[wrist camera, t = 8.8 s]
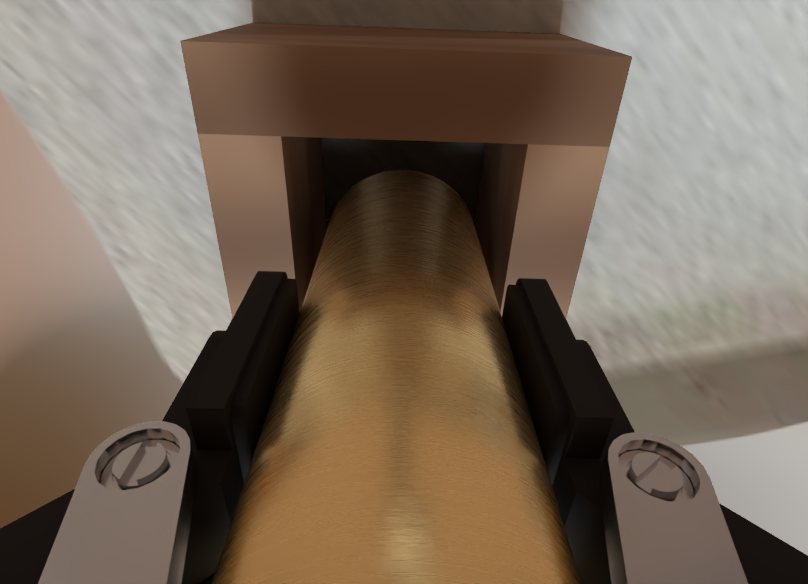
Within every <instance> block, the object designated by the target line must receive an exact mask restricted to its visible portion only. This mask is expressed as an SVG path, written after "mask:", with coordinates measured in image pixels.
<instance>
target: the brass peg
mask: <svg viewBox="0 0 808 584" xmlns="http://www.w3.org/2000/svg"><path fill="white" fill-rule="evenodd" d="M212 584H581V581H580V578H579V574H578V571H577V568H576V564H575V561H574V558H573V554H572V551H571V547H570V544H569V541H568V537H567V534H566V531H565V527H564V524H563V521H562V517H561V514H560V511H559V507H558V504H557V501H556V497H555V494H554V491H553V487H552V484H551V480H550V477H549V474H548V470H547V467H546V464H545V460H544V457H543V454H542V450H541V447H540V444H539V440H538V437H537V434H536V430H535V427H534V424H533V420H532V417H531V413H530V410H529V407H528V403H527V400H526V397H525V393H524V390H523V387H522V383H521V380H520V377H519V373H518V370H517V367H516V363H515V360H514V357H513V353H512V350H511V347H510V343H509V340H508V336H507V333H506V330H505V326H504V323H503V320H502V316H501V313H500V310H499V306H498V303H497V300H496V296H495V293H494V290H493V286H492V283H491V280H490V276H489V273H488V269H487V266H486V263H485V259H484V256H483V253H482V249H481V246H480V243H479V239H478V236H477V233H476V229H475V226H474V223H473V219H472V216H471V214H470V212H469V209H468V207H467V206H466V204H465V202H464V201H463V200H462V198H461V197H460V196H459V195H458V193H456V192H455V191H454V190H453V189H452V188H451V187H450V186H448V185H447V184H446V183H444V182H443V181H441V180H439V179H437V178H435V177H433V176H431V175H428V174H425V173H421V172H417V171H411V170H391V171H385V172H381V173H378V174H374V175H372V176H369V177H367V178H365V179H363V180H362V181H360V182H358V183H357V184H355V185H354V186H353V187H352V188H350V189H349V190H348V191H347V192H346V193H345V194H344V195H343V197H342V198H341V199H340V201H339V202H338V203H337V205H336V207H335V209H334V211H333V213H332V216H331V219H330V222H329V225H328V228H327V231H326V234H325V237H324V240H323V243H322V246H321V249H320V253H319V256H318V259H317V262H316V265H315V268H314V271H313V274H312V277H311V280H310V283H309V286H308V289H307V292H306V295H305V299H304V302H303V305H302V308H301V311H300V314H299V317H298V320H297V323H296V326H295V329H294V332H293V335H292V338H291V341H290V345H289V348H288V351H287V354H286V357H285V360H284V363H283V366H282V369H281V372H280V375H279V378H278V381H277V384H276V388H275V391H274V394H273V397H272V400H271V403H270V406H269V409H268V412H267V415H266V418H265V421H264V424H263V427H262V430H261V434H260V437H259V440H258V443H257V446H256V449H255V452H254V455H253V458H252V461H251V464H250V467H249V470H248V473H247V476H246V480H245V483H244V486H243V489H242V492H241V495H240V498H239V501H238V504H237V507H236V510H235V513H234V516H233V519H232V522H231V526H230V529H229V532H228V535H227V538H226V541H225V544H224V547H223V550H222V553H221V556H220V559H219V562H218V565H217V569H216V572H215V575H214V578H213V581H212Z"/></svg>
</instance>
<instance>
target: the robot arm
mask: <svg viewBox="0 0 808 584" xmlns="http://www.w3.org/2000/svg"><path fill="white" fill-rule="evenodd" d="M299 314H300V312H299V301H298V291H297V282H296V280H295V279H288V277H287V273H286V272H278V271H258V272H257V273H256V275H255V277H254V279H253V281H252V283H251V285H250V286H249V288H248V290H247V292H246V294H245V296H244V298H243V300H242V302H241V304H240V305H239V307H238V309H237V311H236V313H235V315H234V317H233V319H232V321H231V323H230V325H229V326H228V328H227V330H226V331H215V332H213V333H212V334H211V336H210V337H209V339H208V341H207V342H206V344H205V346H204V348H203V350H202V351H201V353H200V355H199V357H198V358H197V360H196V362H195V364H194V366H193V367H192V369H191V371H190V373H189V374H188V376H187V378H186V380H185V381H184V383H183V385H182V387H181V389H180V390H179V392H178V394H177V396H176V397H175V399H174V401H173V403H172V405H171V406H170V408H169V410H168V412H167V413H166V415H165V417H164V419H163V421H155V422H154V421H152V422H145V423H140V424H136V425H133V426H130V427H128V428H125V429H123V430H121V431H118V432H117V433H115V434H114V435H112V436H111V437H109V438H108V439H106V440H105V441H103V442H102V443H101V444H100V445H99V446H98V447H97V448H96V449H95V450H94V451H93V452H92V453H91V455H90V457H89V459H88V460H87V462H86V463H85V465H84V468H83V470H82V473H81V475H80V478H79V481H78V483H77V486H76V488H75V489H74V490H72V491H70V492H68V493H66V494H64V495H63V496H61V497H59V498H57V499H55V500H53V501H51V502H49V503H48V504H46V505H44V506H42V507H40V508H38V509H36V510H35V511H33V512H31V513H29V514H27V515H25V516H24V517H21V518H19V519H18V520H16V521H14V522H12V523H10V524H8V525H6V526H4V527H3V528H1V529H0V584H212V581H213V578H214V575H215V572H216V569H217V565H218V562H219V559H220V556H221V553H222V550H223V547H224V544H225V541H226V538H227V535H228V532H229V529H230V526H231V522H232V519H233V516H234V513H235V510H236V507H237V504H238V501H239V498H240V495H241V492H242V489H243V486H244V483H245V480H246V476H247V473H248V470H249V467H250V464H251V461H252V458H253V455H254V452H255V449H256V446H257V443H258V440H259V437H260V434H261V430H262V427H263V424H264V421H265V418H266V415H267V412H268V409H269V406H270V403H271V400H272V397H273V394H274V391H275V388H276V384H277V381H278V378H279V375H280V372H281V369H282V366H283V363H284V360H285V357H286V354H287V351H288V348H289V345H290V341H291V338H292V335H293V332H294V329H295V326H296V323H297V320H298V317H299ZM502 320H503V323H504V326H505V330H506V333H507V336H508V340H509V343H510V347H511V350H512V353H513V357H514V360H515V363H516V367H517V370H518V373H519V377H520V380H521V383H522V387H523V390H524V393H525V397H526V400H527V403H528V407H529V410H530V413H531V417H532V420H533V424H534V427H535V430H536V434H537V437H538V440H539V444H540V447H541V450H542V454H543V457H544V460H545V464H546V467H547V470H548V474H549V477H550V480H551V484H552V487H553V491H554V494H555V497H556V501H557V504H558V507H559V511H560V514H561V517H562V521H563V524H564V527H565V531H566V534H567V537H568V541H569V544H570V547H571V551H572V554H573V558H574V561H575V564H576V568H577V571H578V574H579V578H580V581H581V584H808V556H807V555H805V554H804V553H802V552H800V551H799V550H797V549H795V548H794V547H792V546H790V545H788V544H787V543H785V542H783V541H782V540H780V539H778V538H777V537H775V536H773V535H772V534H770V533H768V532H767V531H765V530H763V529H762V528H760V527H758V526H756V525H755V524H753V523H751V522H750V521H748V520H746V519H745V518H743V517H741V516H740V515H738V514H736V513H735V512H733V511H731V510H730V509H728V508H726V507H724V506H723V505H721V504H719V502H718V499H717V496H716V494H715V491H714V488H713V485H712V482H711V480H710V477H709V476H708V474H707V472H706V470H705V469H704V467H703V465H702V464H701V463H700V462H699V461H698V460H697V459H696V458H695V457H694V456H693V454H691V453H690V452H688V451H687V450H686V449H684V448H683V447H682V446H680V445H679V444H677V443H675V442H673V441H671V440H668V439H666V438H664V437H661V436H658V435H654V434H651V433H641V432H634V430H633V428H632V426H631V424H630V422H629V420H628V418H627V416H626V414H625V413H624V411H623V409H622V407H621V405H620V403H619V401H618V399H617V397H616V395H615V393H614V391H613V390H612V388H611V386H610V384H609V382H608V380H607V378H606V376H605V374H604V372H603V370H602V368H601V367H600V365H599V363H598V361H597V359H596V357H595V355H594V353H593V351H592V349H591V347H590V346H589V344H588V343H587V342H586V341H584V340H576V339H575V337H574V335H573V333H572V331H571V329H570V327H569V325H568V322H567V320H566V318H565V316H564V314H563V312H562V310H561V308H560V306H559V304H558V302H557V300H556V298H555V296H554V294H553V292H552V290H551V288H550V286H549V284H548V282H547V280H546V279H530V278H519V279H518V280H517V282H516V285H508V287H507V290H506V296H505V302H504V308H503V314H502Z"/></svg>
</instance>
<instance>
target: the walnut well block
mask: <svg viewBox="0 0 808 584" xmlns="http://www.w3.org/2000/svg"><path fill="white" fill-rule="evenodd" d="M181 46H182V52H183V57H184V62H185V68H186V73H187V78H188V84H189V89H190V94H191V100H192V105H193V110H194V116H195V121H196V126H197V132H198V137H199V142H200V148H201V153H202V158H203V164H204V169H205V174H206V180H207V185H208V190H209V196H210V201H211V206H212V212H213V217H214V222H215V227H216V233H217V238H218V243H219V249H220V254H221V259H222V265H223V270H224V275H225V281H226V286H227V291H228V297H229V302H230V307H231V313H232V318H233V317H234V315H235V313H236V311H237V309H238V307H239V305H240V304H241V302H242V300H243V298H244V296H245V294H246V292H247V290H248V288H249V286H250V285H251V283H252V281H253V279H254V277H255V275H256V273H257V272H258V271H278V272H286V273H287V277H288V279H295V280H296V282H297V291H298V301H299V312H300V311H301V308H302V305H303V302H304V299H305V295H306V292H307V289H308V286H309V283H310V280H311V277H312V274H313V271H314V268H315V265H316V262H317V259H318V256H319V253H320V249H321V246H322V243H323V240H324V237H325V234H326V219H325V201H324V184H323V167H322V149H321V138H347V139H378V140H409V141H440V142H472V143H486V145H485V153H484V162H483V170H482V179H481V187H480V195H479V204H478V212H477V221H476V233H477V236H478V239H479V243H480V246H481V249H482V253H483V256H484V259H485V263H486V266H487V269H488V273H489V276H490V280H491V283H492V286H493V290H494V293H495V296H496V300H497V303H498V306H499V310H500V313H501V316H502V314H503V308H504V302H505V296H506V290H507V287H508V285H516V282H517V280H518V279H519V278H530V279H546V280H547V282H548V284H549V286H550V288H551V290H552V292H553V294H554V296H555V298H556V300H557V302H558V304H559V306H560V308H561V310H562V312H563V314H564V316H565V318H566V317H567V313H568V309H569V305H570V301H571V297H572V293H573V289H574V285H575V281H576V277H577V273H578V269H579V265H580V262H581V258H582V254H583V250H584V246H585V242H586V238H587V234H588V230H589V226H590V222H591V218H592V214H593V210H594V206H595V202H596V198H597V194H598V190H599V186H600V182H601V178H602V174H603V170H604V166H605V162H606V158H607V154H608V150H609V147H610V143H611V139H612V135H613V131H614V127H615V123H616V119H617V115H618V111H619V107H620V103H621V99H622V95H623V91H624V87H625V83H626V79H627V75H628V71H629V67H630V63H631V59H632V57H631V56H628V55H625V54H622V53H618V52H615V51H612V50H609V49H606V48H603V47H599V46H596V45H593V44H590V43H587V42H584V41H581V40H577V39H574V38H571V37H568V36H565V35H562V34H546V33H518V32H490V31H462V30H434V29H406V28H378V27H350V26H322V25H294V24H266V23H250V24H246V25H242V26H238V27H234V28H230V29H226V30H222V31H218V32H214V33H210V34H207V35H203V36H199V37H195V38H191V39H187V40H183V41H181Z"/></svg>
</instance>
